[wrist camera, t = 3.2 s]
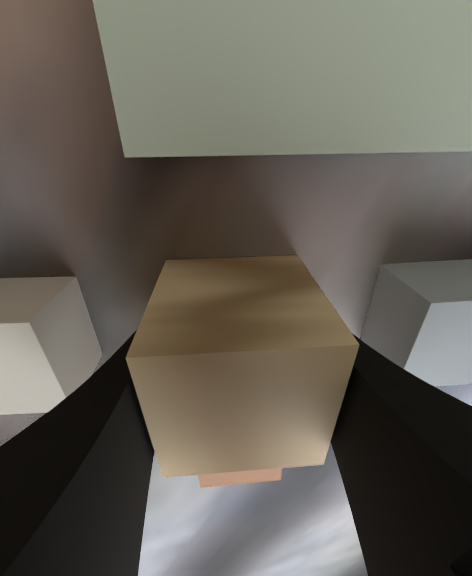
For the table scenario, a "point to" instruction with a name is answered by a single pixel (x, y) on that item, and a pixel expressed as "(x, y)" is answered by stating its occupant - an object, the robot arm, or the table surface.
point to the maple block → (240, 365)
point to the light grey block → (43, 343)
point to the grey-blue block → (424, 319)
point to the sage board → (288, 76)
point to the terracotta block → (239, 477)
